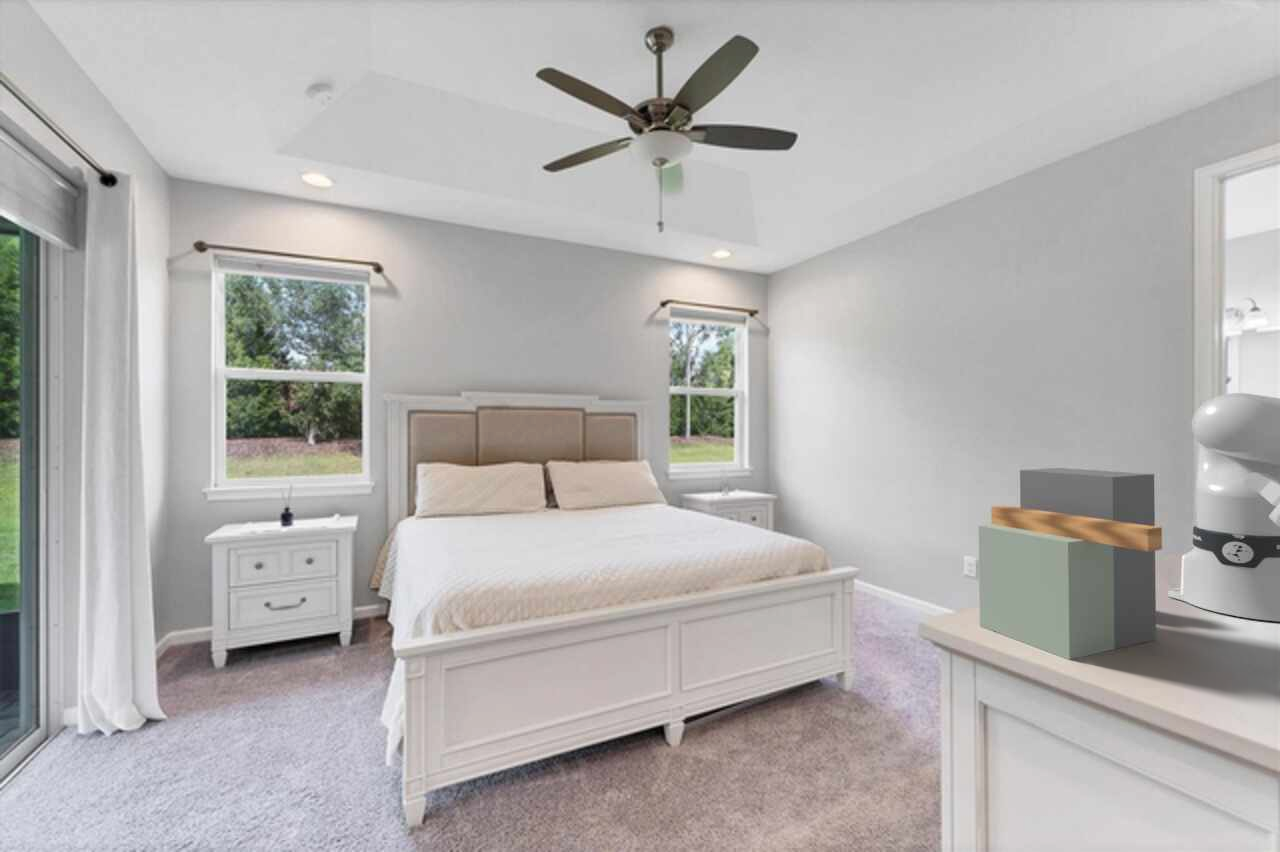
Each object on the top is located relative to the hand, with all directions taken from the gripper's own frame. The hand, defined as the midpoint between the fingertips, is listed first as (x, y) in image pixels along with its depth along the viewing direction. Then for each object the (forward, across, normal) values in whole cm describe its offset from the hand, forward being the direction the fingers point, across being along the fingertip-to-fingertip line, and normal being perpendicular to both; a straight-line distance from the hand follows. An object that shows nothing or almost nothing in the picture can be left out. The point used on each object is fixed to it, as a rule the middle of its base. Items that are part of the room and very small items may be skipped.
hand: (1273, 475), depth 63 cm
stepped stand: (+7, +2, -37) cm, 38 cm away
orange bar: (+13, -2, -20) cm, 24 cm away
